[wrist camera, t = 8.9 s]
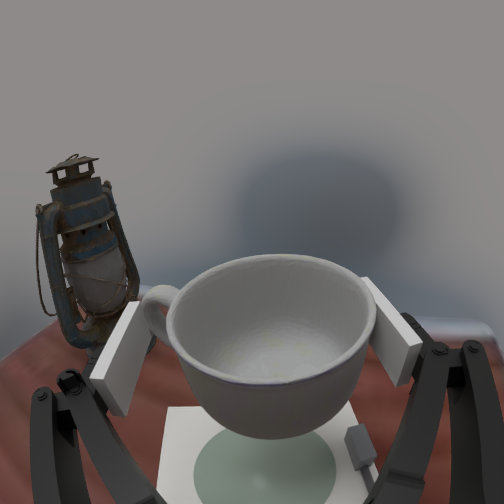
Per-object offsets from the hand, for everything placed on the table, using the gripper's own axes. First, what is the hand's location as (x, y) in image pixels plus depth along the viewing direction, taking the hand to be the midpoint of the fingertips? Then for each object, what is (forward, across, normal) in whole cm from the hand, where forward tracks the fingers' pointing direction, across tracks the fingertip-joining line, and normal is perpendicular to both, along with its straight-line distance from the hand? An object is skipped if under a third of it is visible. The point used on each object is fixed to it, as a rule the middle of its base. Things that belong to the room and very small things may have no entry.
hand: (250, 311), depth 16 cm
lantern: (+21, -23, -18) cm, 36 cm away
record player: (-3, 0, -18) cm, 18 cm away
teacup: (-1, 0, -6) cm, 6 cm away
